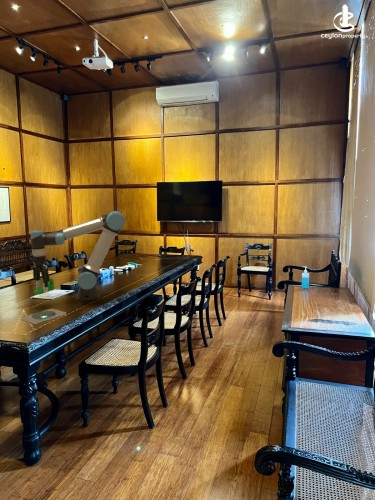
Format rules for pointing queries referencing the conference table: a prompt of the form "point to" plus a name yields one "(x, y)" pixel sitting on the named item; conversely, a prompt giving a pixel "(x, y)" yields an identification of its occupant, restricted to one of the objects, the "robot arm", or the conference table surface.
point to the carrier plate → (43, 316)
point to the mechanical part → (50, 288)
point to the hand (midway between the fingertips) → (42, 291)
